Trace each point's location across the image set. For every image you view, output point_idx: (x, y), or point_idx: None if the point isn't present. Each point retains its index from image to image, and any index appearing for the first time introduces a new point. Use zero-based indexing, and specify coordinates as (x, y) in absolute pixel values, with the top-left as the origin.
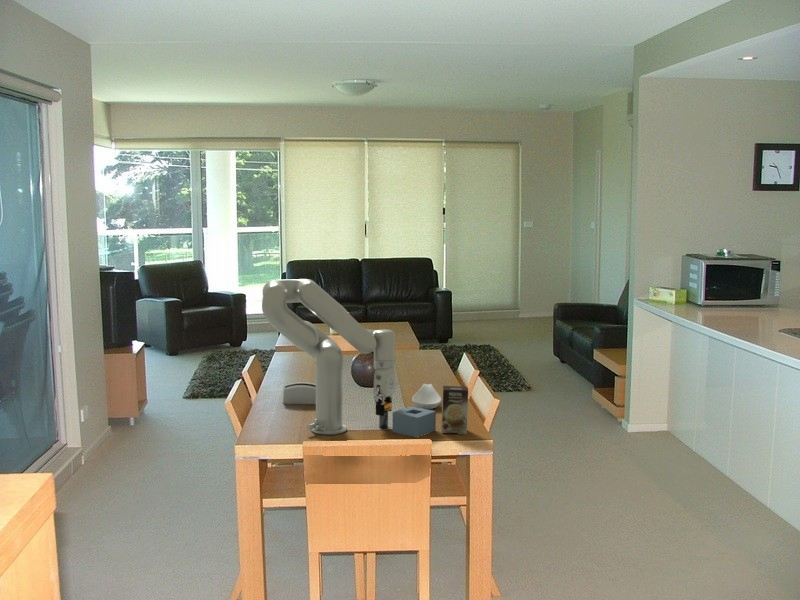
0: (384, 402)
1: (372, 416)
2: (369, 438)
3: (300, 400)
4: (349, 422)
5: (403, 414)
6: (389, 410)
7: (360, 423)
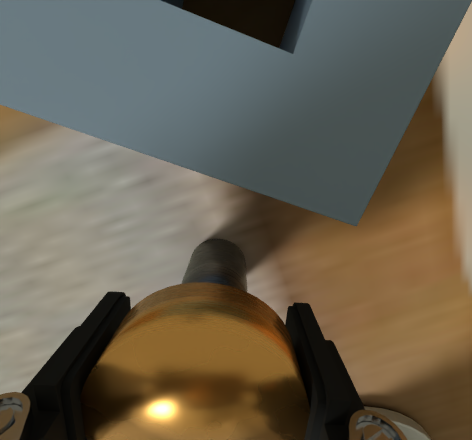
0: (149, 428)
1: None
2: (457, 267)
3: None
4: None
5: (445, 33)
6: (128, 307)
7: None
